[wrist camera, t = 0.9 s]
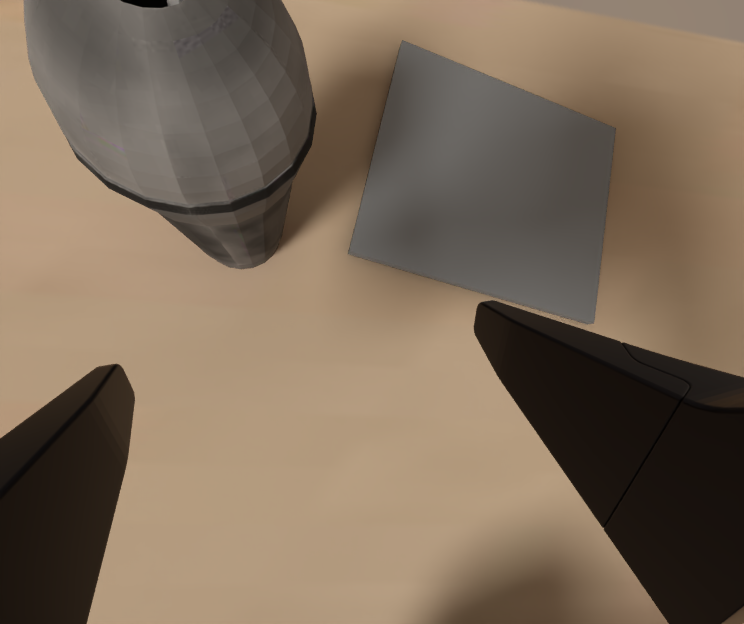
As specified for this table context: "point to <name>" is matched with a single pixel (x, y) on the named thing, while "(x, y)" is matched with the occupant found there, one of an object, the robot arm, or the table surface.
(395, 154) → the rubber mat
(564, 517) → the table surface
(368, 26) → the table surface
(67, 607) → the robot arm
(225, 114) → the beverage cup
